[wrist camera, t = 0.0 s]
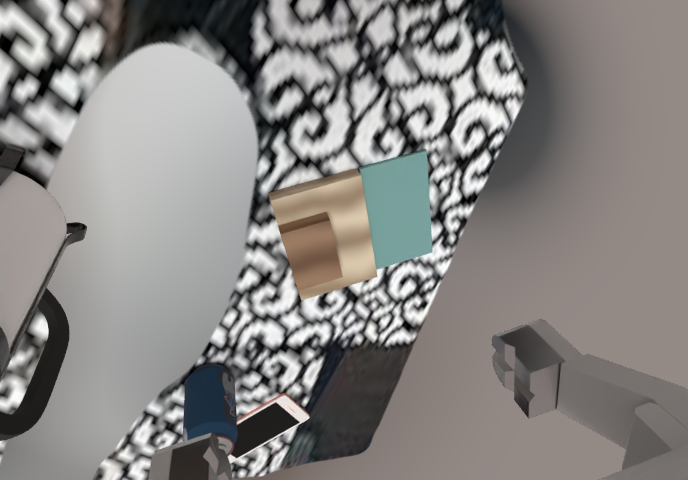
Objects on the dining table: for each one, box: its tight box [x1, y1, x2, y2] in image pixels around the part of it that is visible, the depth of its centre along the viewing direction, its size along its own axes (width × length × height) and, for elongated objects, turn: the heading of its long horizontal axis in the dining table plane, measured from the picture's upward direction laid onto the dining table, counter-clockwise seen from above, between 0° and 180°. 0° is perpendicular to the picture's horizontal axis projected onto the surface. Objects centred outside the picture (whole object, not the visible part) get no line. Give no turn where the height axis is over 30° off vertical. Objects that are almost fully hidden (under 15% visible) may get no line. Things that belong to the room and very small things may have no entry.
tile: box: [279, 212, 343, 291], centre depth 53 cm, size 9×6×2 cm, turn 10°
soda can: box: [183, 364, 238, 456], centre depth 59 cm, size 7×7×12 cm
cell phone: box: [228, 393, 309, 463], centre depth 74 cm, size 9×18×1 cm, turn 117°
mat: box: [359, 149, 432, 270], centre depth 57 cm, size 16×9×1 cm, turn 10°
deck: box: [269, 169, 377, 300], centre depth 55 cm, size 16×11×2 cm
